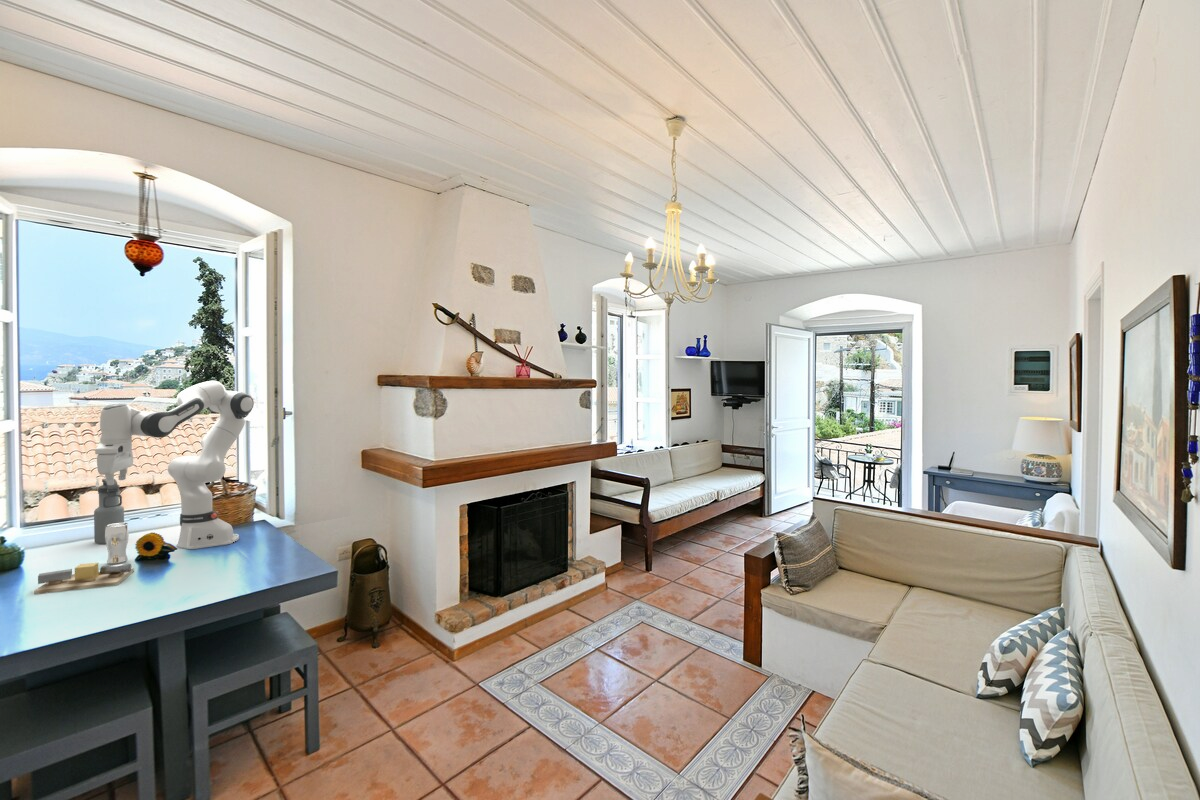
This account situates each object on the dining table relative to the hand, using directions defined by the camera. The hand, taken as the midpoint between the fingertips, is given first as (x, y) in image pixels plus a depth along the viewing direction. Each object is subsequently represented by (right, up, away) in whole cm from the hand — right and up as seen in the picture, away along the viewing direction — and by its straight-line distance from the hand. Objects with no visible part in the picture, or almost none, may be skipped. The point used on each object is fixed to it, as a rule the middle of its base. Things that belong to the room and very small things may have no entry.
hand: (116, 482), depth 199 cm
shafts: (0, -32, -12) cm, 34 cm away
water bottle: (-35, -32, +34) cm, 59 cm away
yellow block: (-1, -33, -11) cm, 35 cm away
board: (-1, -35, -11) cm, 36 cm away
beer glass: (-9, -34, +10) cm, 36 cm away
